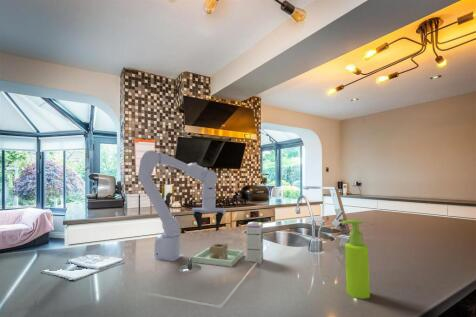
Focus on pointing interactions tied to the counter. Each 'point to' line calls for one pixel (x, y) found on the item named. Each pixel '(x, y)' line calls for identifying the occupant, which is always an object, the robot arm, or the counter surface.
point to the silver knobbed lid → (189, 267)
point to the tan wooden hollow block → (219, 251)
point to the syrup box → (254, 242)
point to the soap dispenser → (356, 263)
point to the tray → (229, 261)
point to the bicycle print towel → (88, 266)
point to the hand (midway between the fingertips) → (208, 230)
